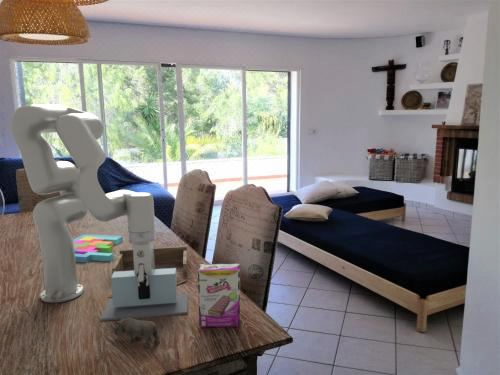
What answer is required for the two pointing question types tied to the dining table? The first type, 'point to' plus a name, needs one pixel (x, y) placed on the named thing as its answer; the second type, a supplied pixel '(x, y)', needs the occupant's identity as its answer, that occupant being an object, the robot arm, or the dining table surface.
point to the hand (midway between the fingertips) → (145, 294)
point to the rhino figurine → (137, 330)
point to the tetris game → (95, 247)
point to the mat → (146, 309)
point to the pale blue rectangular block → (160, 284)
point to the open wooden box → (160, 256)
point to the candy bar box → (219, 295)
